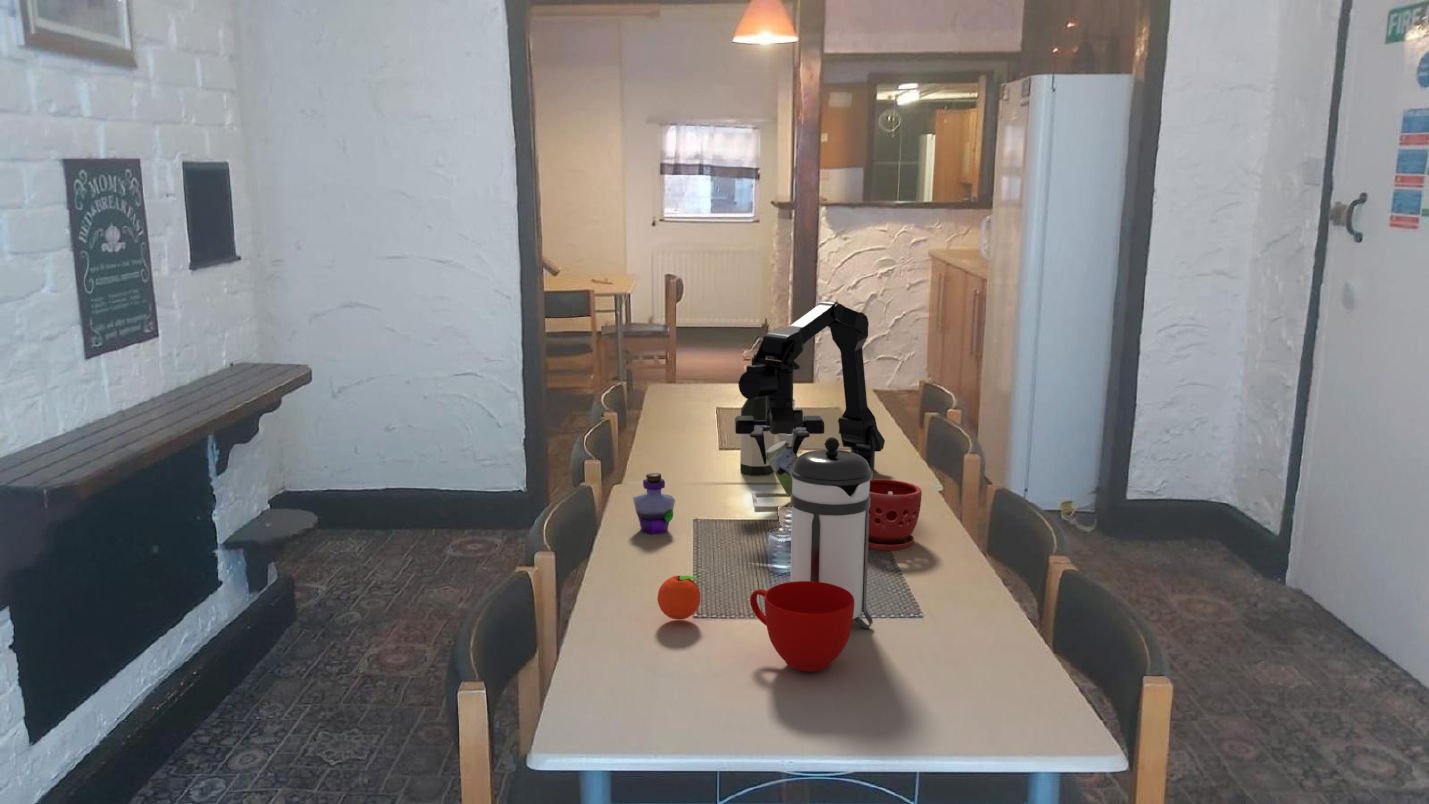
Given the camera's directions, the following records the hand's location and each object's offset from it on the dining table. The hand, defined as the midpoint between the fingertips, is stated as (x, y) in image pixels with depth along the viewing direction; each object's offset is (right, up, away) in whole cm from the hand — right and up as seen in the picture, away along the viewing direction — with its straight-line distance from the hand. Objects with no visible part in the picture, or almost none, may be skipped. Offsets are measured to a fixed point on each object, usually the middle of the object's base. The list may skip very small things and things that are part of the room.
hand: (778, 464), depth 231 cm
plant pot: (+19, -15, -21) cm, 32 cm away
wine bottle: (-4, -5, +25) cm, 26 cm away
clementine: (-19, -22, -57) cm, 64 cm away
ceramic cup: (-2, -25, -72) cm, 76 cm away
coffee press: (+4, -22, -57) cm, 61 cm away
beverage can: (+4, -7, +2) cm, 8 cm away
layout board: (+11, -10, +2) cm, 15 cm away
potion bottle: (-26, -13, -14) cm, 32 cm away
